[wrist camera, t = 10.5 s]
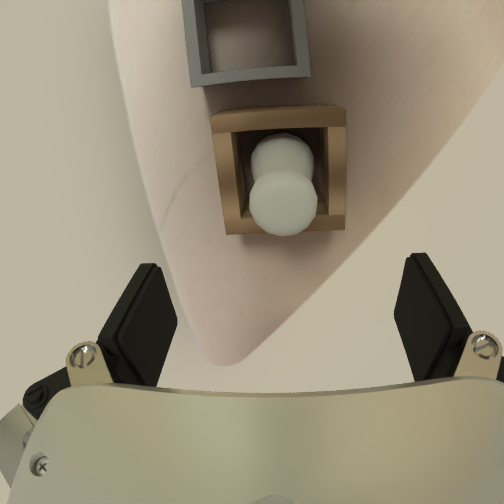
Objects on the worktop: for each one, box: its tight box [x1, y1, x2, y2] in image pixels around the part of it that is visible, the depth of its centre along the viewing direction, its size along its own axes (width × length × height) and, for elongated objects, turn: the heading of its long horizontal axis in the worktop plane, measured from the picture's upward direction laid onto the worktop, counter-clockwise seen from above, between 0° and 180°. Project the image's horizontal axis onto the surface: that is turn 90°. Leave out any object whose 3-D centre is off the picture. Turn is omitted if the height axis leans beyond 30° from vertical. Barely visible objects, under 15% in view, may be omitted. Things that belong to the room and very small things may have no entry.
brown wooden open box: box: [210, 105, 346, 235], centre depth 27 cm, size 11×11×5 cm
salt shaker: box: [249, 133, 318, 236], centre depth 24 cm, size 6×6×13 cm
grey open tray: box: [182, 0, 311, 87], centre depth 21 cm, size 10×10×4 cm
